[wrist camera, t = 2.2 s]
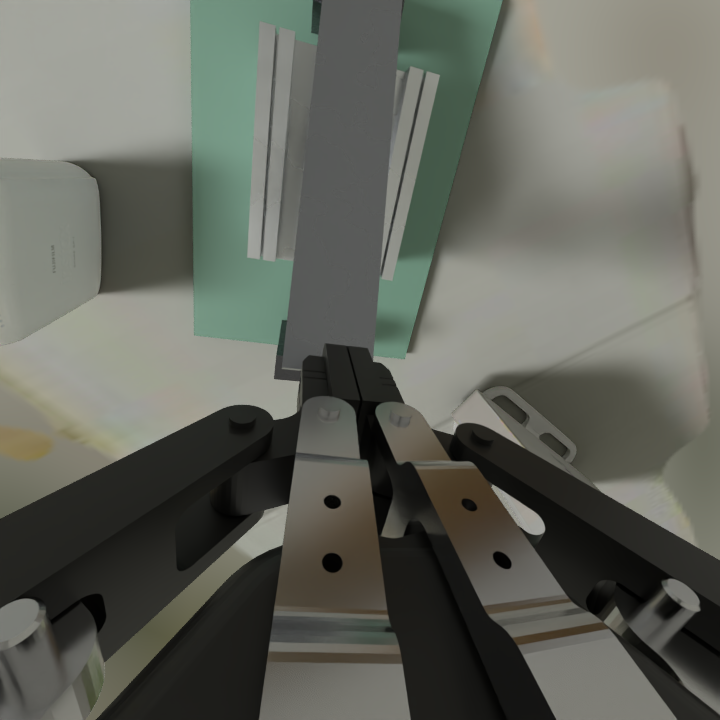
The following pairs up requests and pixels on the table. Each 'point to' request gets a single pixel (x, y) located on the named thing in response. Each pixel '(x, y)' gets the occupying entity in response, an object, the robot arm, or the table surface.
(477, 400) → the network device
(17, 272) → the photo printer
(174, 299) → the table surface
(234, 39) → the mainboard
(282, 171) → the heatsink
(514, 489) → the robot arm
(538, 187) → the table surface
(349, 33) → the grey flat bar
